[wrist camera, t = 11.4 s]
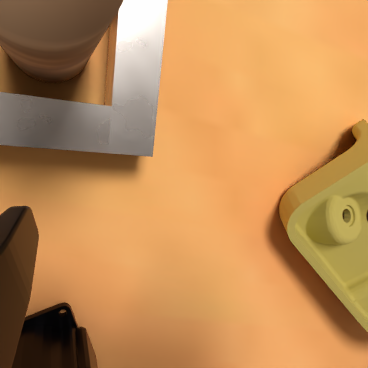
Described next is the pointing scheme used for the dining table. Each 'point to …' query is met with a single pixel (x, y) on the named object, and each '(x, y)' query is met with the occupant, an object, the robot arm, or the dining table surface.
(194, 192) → the dining table surface
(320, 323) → the dining table surface
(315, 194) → the plastic component
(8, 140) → the hole plate
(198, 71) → the dining table surface
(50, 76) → the walnut peg
